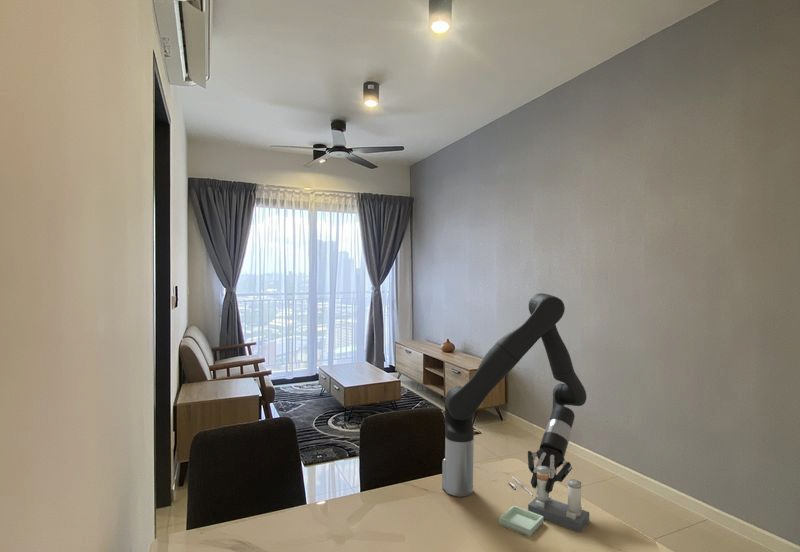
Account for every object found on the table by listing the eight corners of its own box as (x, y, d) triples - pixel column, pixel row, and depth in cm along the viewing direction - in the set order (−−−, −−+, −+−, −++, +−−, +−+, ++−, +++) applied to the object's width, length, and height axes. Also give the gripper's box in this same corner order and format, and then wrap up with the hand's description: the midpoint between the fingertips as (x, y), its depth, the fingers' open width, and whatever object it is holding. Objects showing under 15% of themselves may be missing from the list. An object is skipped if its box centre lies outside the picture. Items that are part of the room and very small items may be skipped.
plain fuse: (565, 514, 122) (565, 482, 122) (569, 509, 125) (570, 478, 125) (578, 518, 120) (578, 486, 120) (582, 513, 122) (583, 481, 123)
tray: (498, 524, 120) (498, 517, 120) (513, 511, 127) (513, 505, 127) (530, 537, 114) (530, 530, 114) (543, 523, 121) (543, 516, 122)
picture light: (533, 496, 138) (533, 490, 138) (521, 498, 137) (521, 491, 137) (512, 477, 151) (512, 471, 151) (501, 478, 150) (501, 472, 150)
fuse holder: (528, 513, 127) (528, 500, 127) (538, 502, 133) (539, 490, 133) (580, 532, 117) (580, 519, 117) (589, 520, 123) (589, 507, 123)
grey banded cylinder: (534, 498, 128) (535, 468, 128) (539, 494, 131) (539, 464, 131) (546, 502, 126) (546, 471, 126) (550, 498, 128) (551, 468, 129)
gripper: (531, 426, 139) (514, 475, 129) (576, 437, 130) (561, 491, 120) (537, 438, 143) (521, 487, 133) (581, 449, 134) (567, 503, 124)
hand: (540, 489), depth 127 cm, fingers closed on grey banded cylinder, 3 cm apart
